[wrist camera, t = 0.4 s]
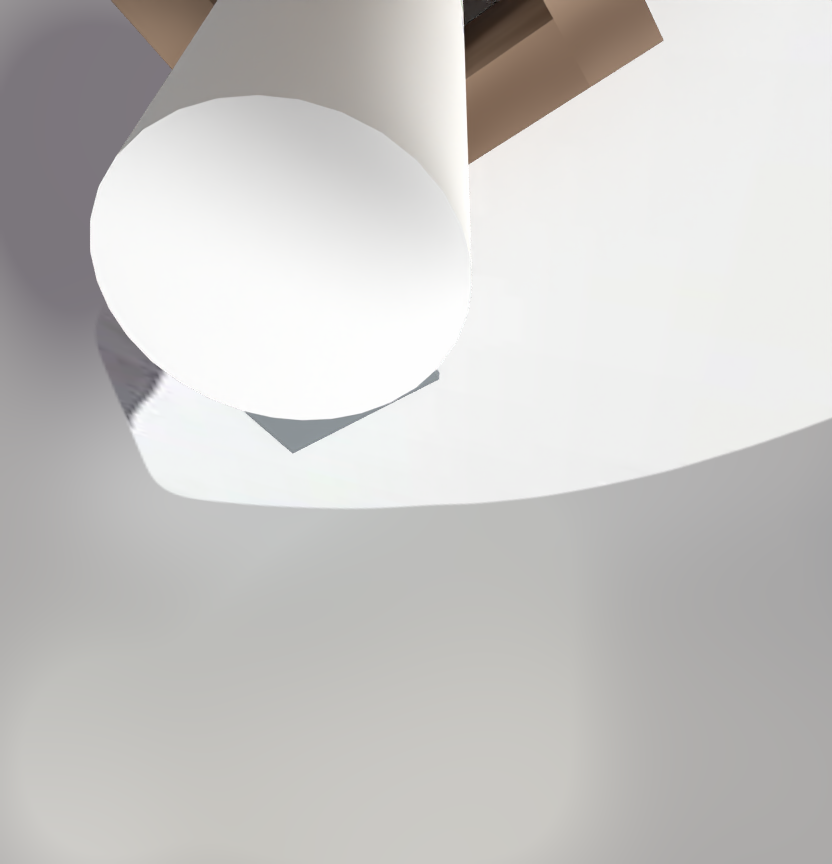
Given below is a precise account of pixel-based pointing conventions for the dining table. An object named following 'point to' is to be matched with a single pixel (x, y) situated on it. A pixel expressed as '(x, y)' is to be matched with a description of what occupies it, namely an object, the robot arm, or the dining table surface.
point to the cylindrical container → (297, 206)
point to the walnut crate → (483, 53)
